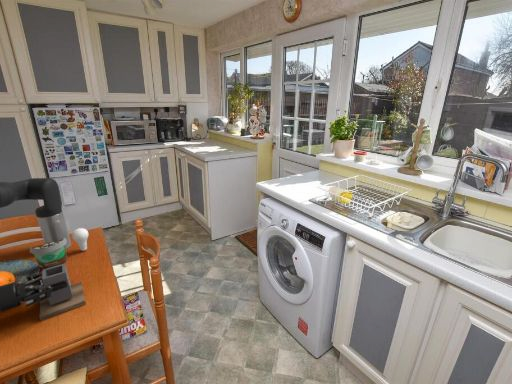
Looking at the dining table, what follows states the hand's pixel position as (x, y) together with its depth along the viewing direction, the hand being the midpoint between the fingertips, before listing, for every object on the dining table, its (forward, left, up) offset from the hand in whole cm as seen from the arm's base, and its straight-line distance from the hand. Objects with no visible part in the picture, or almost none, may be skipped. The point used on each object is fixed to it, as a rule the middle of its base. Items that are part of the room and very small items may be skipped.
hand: (65, 278), depth 88 cm
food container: (-27, -4, -9) cm, 29 cm away
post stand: (0, -2, -8) cm, 9 cm away
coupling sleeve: (0, -2, -6) cm, 6 cm away
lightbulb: (-33, +7, -9) cm, 35 cm away
